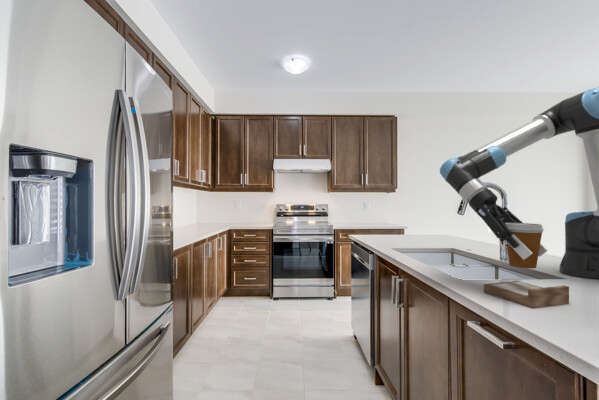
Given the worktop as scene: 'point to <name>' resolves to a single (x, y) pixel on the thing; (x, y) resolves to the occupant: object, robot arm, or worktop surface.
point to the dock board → (529, 293)
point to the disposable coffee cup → (525, 243)
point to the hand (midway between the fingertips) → (536, 254)
